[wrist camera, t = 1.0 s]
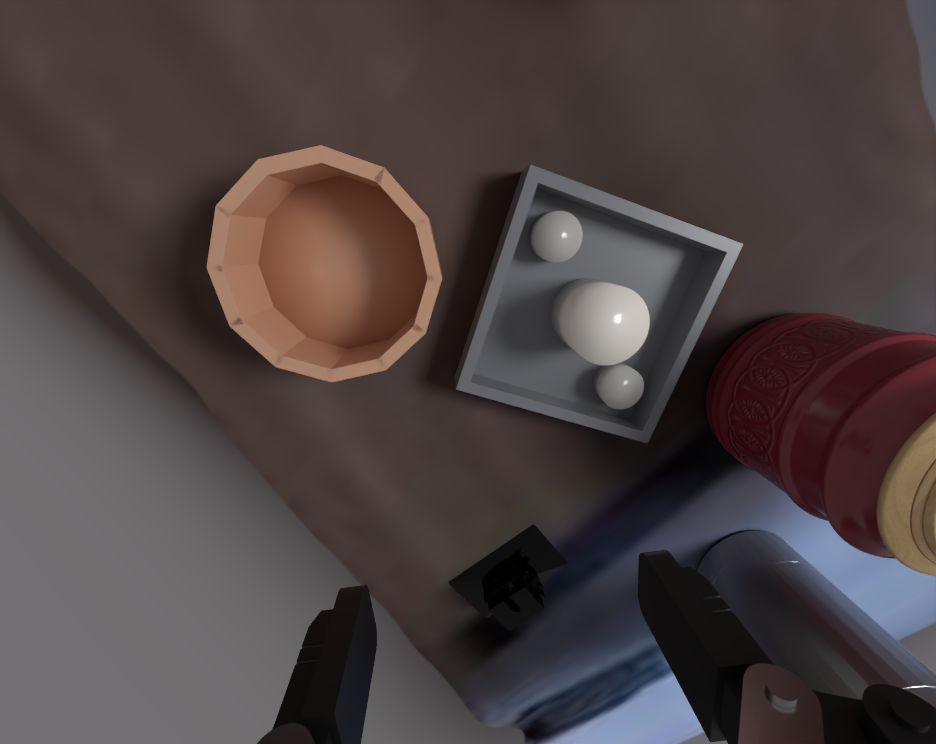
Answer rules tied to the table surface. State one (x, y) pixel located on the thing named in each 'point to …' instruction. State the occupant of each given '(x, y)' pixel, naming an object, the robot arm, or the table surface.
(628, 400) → the small pebble
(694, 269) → the parts tray
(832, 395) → the canister
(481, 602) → the black bracket
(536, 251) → the small pebble
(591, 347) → the pale stone
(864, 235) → the table surface
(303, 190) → the terracotta bowl
